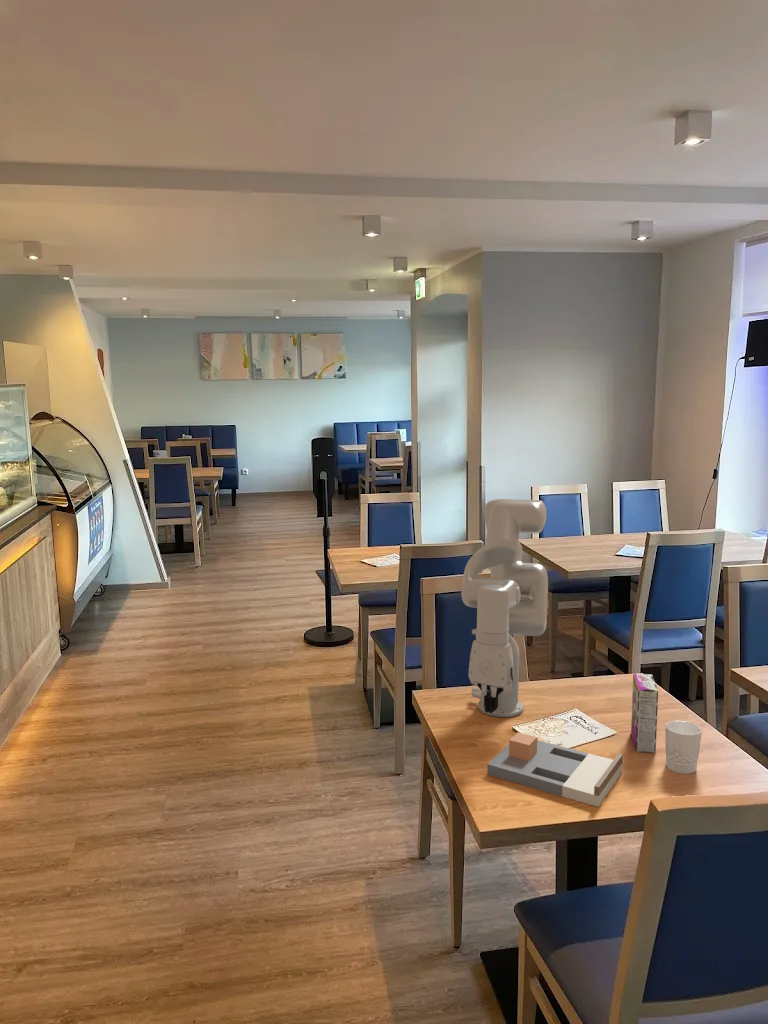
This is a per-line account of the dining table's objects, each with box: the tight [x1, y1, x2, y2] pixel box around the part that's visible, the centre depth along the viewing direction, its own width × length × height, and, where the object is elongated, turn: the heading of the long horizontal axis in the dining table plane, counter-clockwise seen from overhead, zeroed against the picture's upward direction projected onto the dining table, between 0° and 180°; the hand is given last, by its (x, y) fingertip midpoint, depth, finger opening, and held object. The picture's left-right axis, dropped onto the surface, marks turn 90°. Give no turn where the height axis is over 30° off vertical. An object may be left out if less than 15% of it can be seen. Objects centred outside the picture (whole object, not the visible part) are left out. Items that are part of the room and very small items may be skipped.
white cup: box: [664, 719, 702, 775], centre depth 177 cm, size 8×8×10 cm
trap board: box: [486, 739, 624, 808], centre depth 175 cm, size 26×18×4 cm
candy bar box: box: [630, 672, 659, 754], centre depth 189 cm, size 11×5×16 cm, turn 168°
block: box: [508, 731, 538, 761], centre depth 179 cm, size 5×5×4 cm
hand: (490, 710), depth 182 cm, fingers closed
